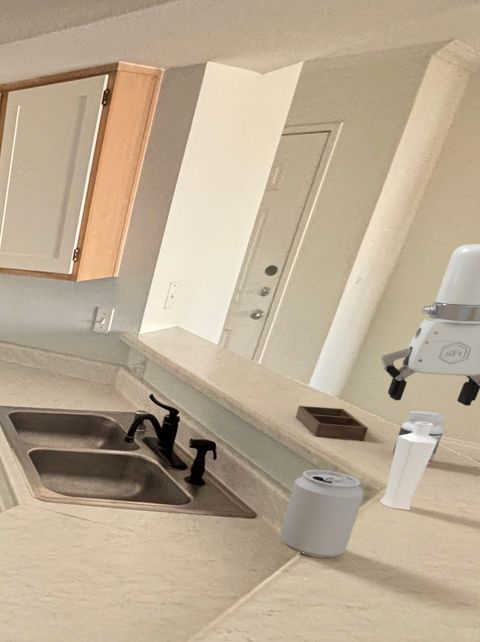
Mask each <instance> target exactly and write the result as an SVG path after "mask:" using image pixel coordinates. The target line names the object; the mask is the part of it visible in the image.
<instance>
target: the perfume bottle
mask: <svg viewBox="0 0 480 642" xmlns="http://www.w3.org/2000/svg"><path fill="white" fill-rule="evenodd" d="M414 423H415V425H414V428H413V431H412V433H410V434H405V435H400V436H398V435H397V438H398V439H397V438H396V441H397V443H396V442H395V444H396V448H395V452H394V457H393V458H392V462H391V466H390V470H389V476H388V480H387V484H386V490H385V493H384V495H383V497H381V499H380V500H379V503H380V504H382V505H384V506H386V507H387V508H390V509H395V510H397V509H398V510H405V511H406V510H407V511H410V510H411V500H412V498H413V496H414V494H415V491H416V489H417V487H418V486H419V483H420V481H421V478H422V476H423V475H424V472H425V470H426V467H427V463H428V461H429V459H430V457H431V455H432V453H433V450H434V448H435V446H436V444H437V440H436V439H435V438H433V437H431V436H430V435H428V434H429V431H430V429H431V426H433V423H428V422H422V421H418V422H414Z"/></svg>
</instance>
